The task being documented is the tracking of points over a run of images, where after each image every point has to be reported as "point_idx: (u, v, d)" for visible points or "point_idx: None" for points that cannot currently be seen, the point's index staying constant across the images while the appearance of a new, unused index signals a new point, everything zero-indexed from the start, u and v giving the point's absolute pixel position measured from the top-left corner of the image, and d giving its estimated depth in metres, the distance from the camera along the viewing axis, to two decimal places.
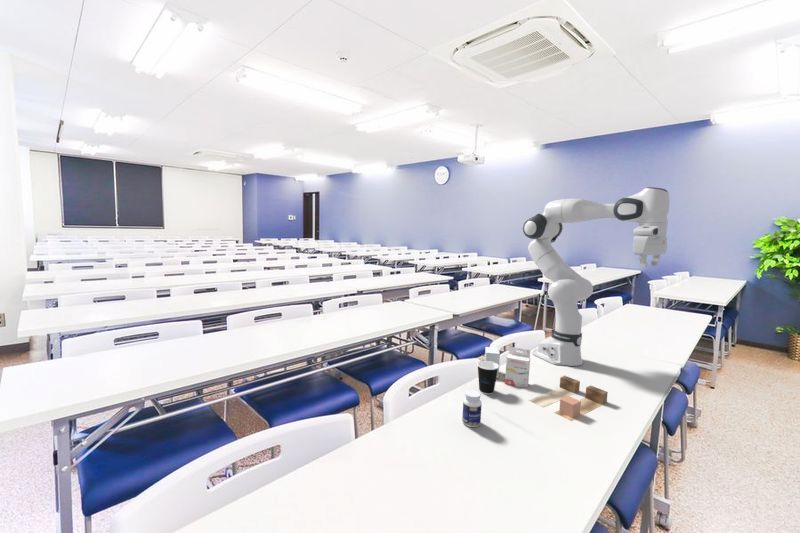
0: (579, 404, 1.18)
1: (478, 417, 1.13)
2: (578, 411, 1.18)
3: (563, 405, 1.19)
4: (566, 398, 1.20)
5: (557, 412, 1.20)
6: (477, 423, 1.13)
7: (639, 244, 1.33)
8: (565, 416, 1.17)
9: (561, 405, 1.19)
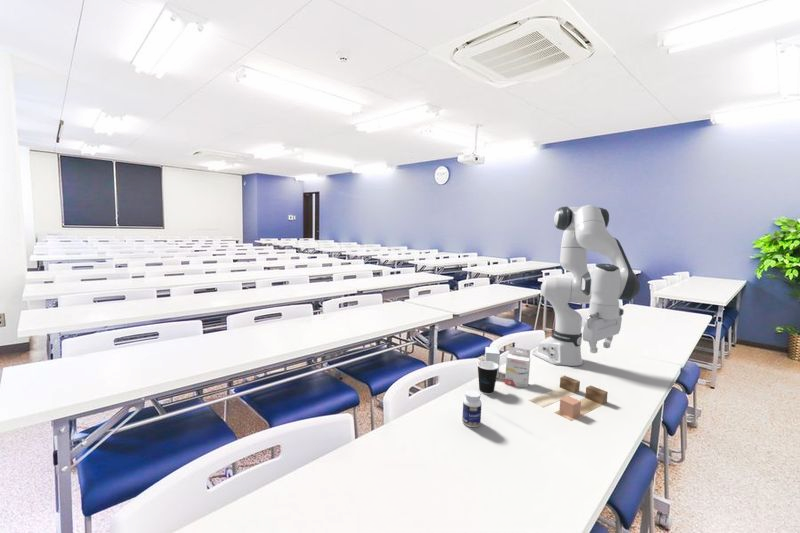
0: (579, 404, 1.18)
1: (478, 417, 1.13)
2: (578, 411, 1.18)
3: (563, 405, 1.19)
4: (566, 398, 1.20)
5: (557, 412, 1.20)
6: (477, 423, 1.13)
7: None
8: (565, 416, 1.17)
9: (561, 405, 1.19)
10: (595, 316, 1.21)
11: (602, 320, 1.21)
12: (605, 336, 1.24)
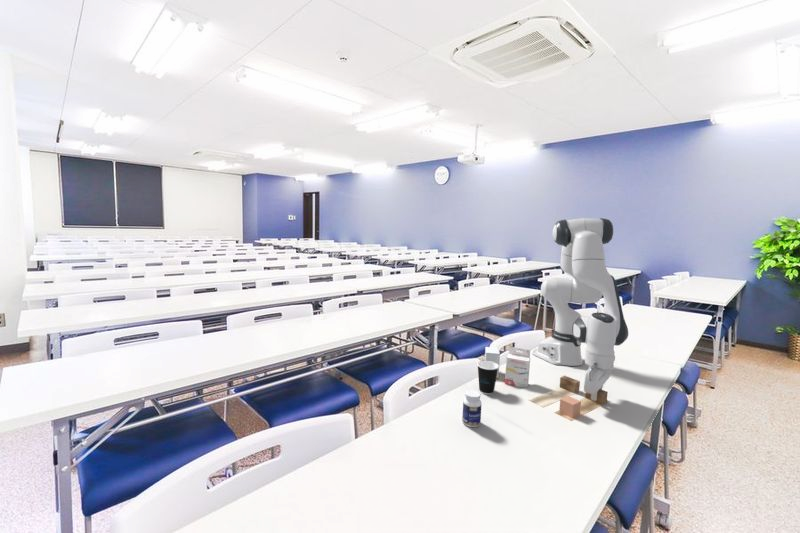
0: (579, 404, 1.18)
1: (478, 417, 1.13)
2: (578, 411, 1.18)
3: (563, 405, 1.19)
4: (566, 398, 1.20)
5: (557, 412, 1.20)
6: (477, 423, 1.13)
7: None
8: (565, 416, 1.17)
9: (561, 405, 1.19)
10: (595, 367, 1.22)
11: (601, 370, 1.23)
12: (602, 384, 1.26)
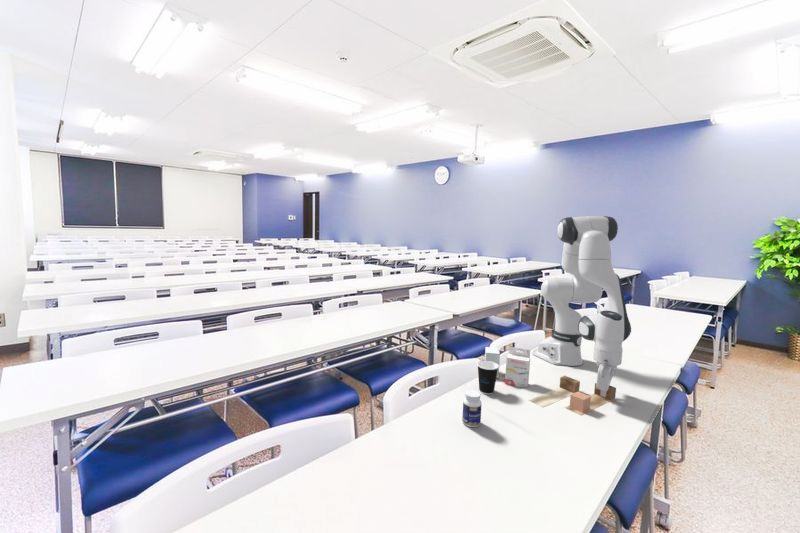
0: (589, 399, 1.21)
1: (478, 417, 1.13)
2: (588, 406, 1.22)
3: (573, 400, 1.22)
4: (576, 394, 1.23)
5: (567, 407, 1.23)
6: (477, 423, 1.13)
7: None
8: (575, 411, 1.21)
9: (571, 400, 1.23)
10: (606, 364, 1.25)
11: (611, 367, 1.26)
12: (610, 380, 1.29)
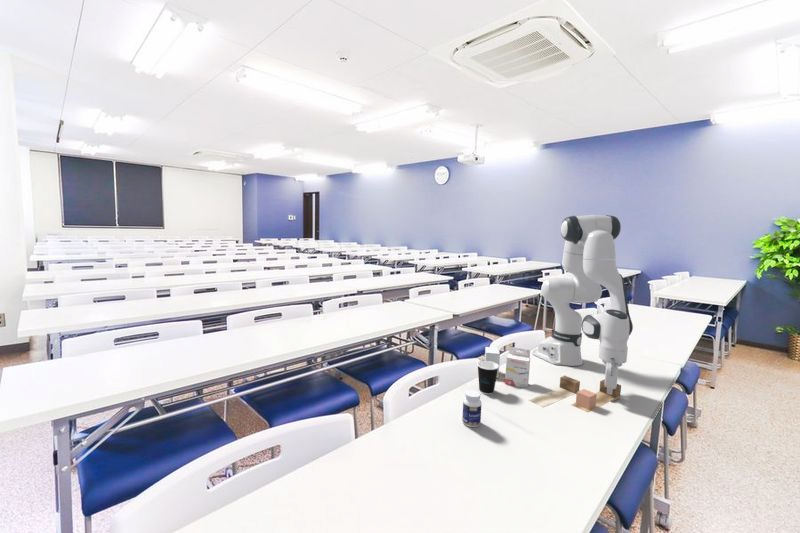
0: (595, 396, 1.23)
1: (478, 417, 1.13)
2: (594, 403, 1.24)
3: (579, 397, 1.24)
4: (582, 391, 1.26)
5: (574, 404, 1.25)
6: (477, 423, 1.13)
7: None
8: (582, 408, 1.23)
9: (577, 397, 1.25)
10: (613, 362, 1.27)
11: (617, 365, 1.28)
12: None
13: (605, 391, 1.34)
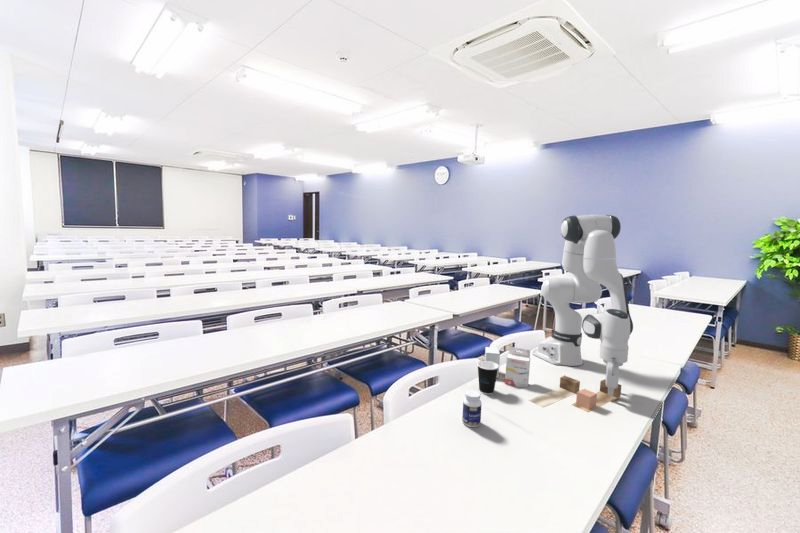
0: (595, 396, 1.24)
1: (478, 417, 1.13)
2: (594, 403, 1.24)
3: (580, 397, 1.24)
4: (582, 391, 1.26)
5: (574, 404, 1.25)
6: (477, 423, 1.13)
7: None
8: (582, 408, 1.23)
9: (578, 397, 1.25)
10: None
11: (618, 364, 1.28)
12: None
13: (605, 391, 1.34)
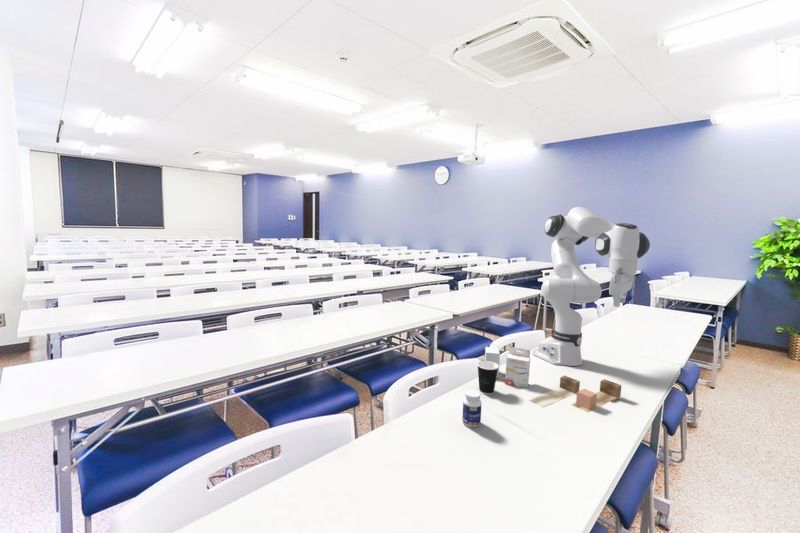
0: (595, 396, 1.24)
1: (478, 417, 1.13)
2: (594, 403, 1.24)
3: (580, 397, 1.24)
4: (582, 391, 1.26)
5: (574, 404, 1.25)
6: (477, 423, 1.13)
7: None
8: (582, 408, 1.23)
9: (578, 397, 1.25)
10: (619, 271, 1.29)
11: (625, 275, 1.30)
12: (625, 290, 1.32)
13: (605, 391, 1.34)
